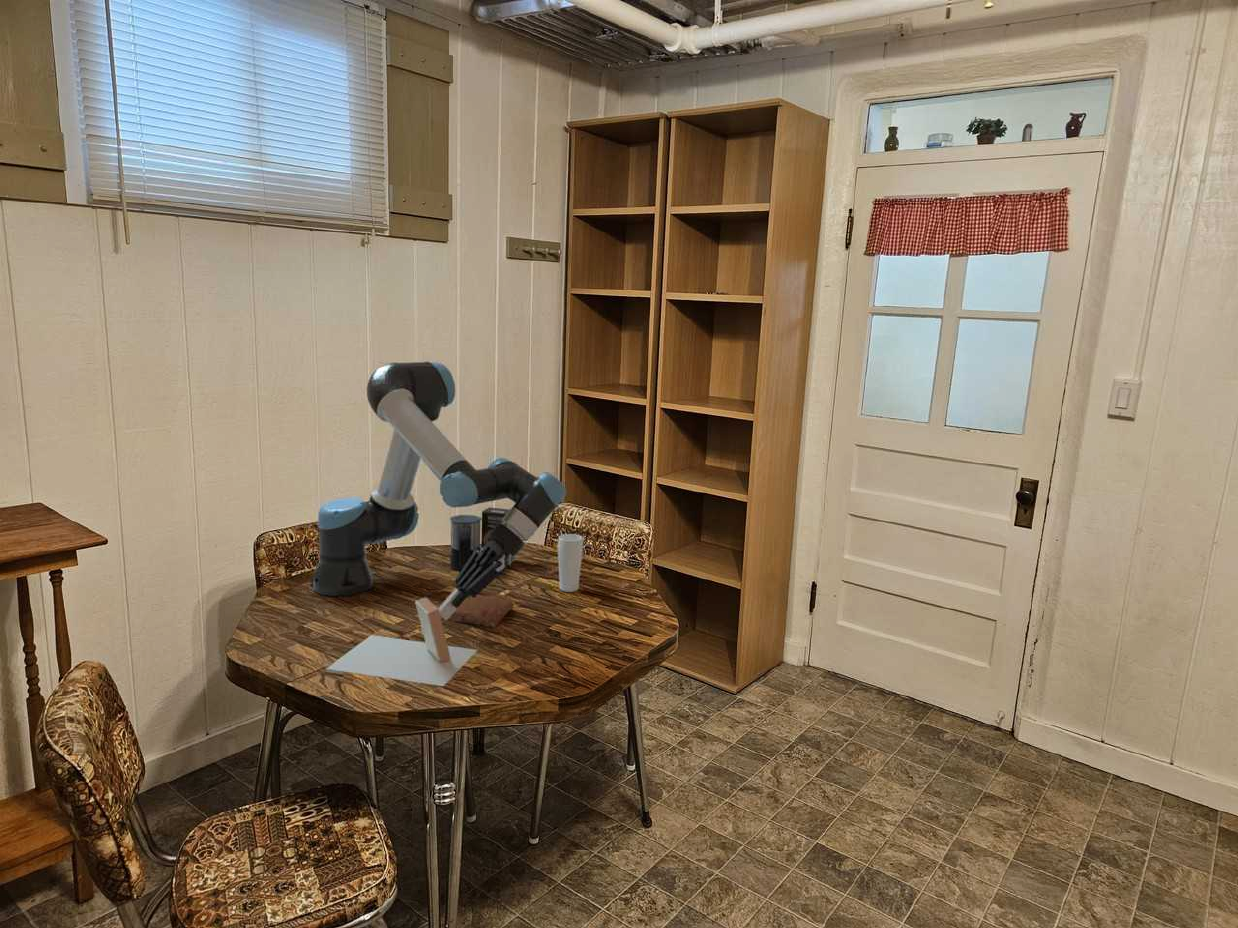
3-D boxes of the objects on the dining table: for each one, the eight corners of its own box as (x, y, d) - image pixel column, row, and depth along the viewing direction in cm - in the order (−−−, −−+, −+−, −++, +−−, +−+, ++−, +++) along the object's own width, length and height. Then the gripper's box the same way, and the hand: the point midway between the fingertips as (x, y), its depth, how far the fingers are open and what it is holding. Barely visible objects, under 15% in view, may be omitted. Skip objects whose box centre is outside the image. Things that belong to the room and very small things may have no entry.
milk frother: (446, 563, 234) (446, 515, 232) (496, 558, 241) (497, 511, 239) (458, 578, 222) (459, 527, 219) (511, 572, 229) (512, 523, 226)
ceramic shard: (462, 584, 203) (516, 598, 201) (457, 607, 204) (511, 622, 201) (439, 595, 189) (497, 611, 186) (433, 621, 189) (491, 637, 187)
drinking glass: (561, 594, 213) (563, 541, 210) (553, 586, 219) (554, 534, 216) (584, 592, 215) (586, 539, 212) (576, 584, 221) (577, 533, 219)
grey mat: (326, 672, 162) (326, 668, 162) (371, 638, 180) (371, 635, 179) (443, 689, 157) (443, 686, 157) (477, 653, 174) (477, 649, 174)
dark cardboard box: (480, 563, 236) (480, 511, 233) (487, 557, 242) (488, 506, 239) (509, 566, 234) (510, 514, 231) (515, 560, 240) (516, 509, 237)
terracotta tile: (437, 644, 175) (425, 597, 171) (450, 658, 168) (438, 609, 164) (427, 649, 173) (414, 601, 170) (439, 663, 167) (427, 613, 163)
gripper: (536, 550, 172) (464, 636, 166) (510, 534, 182) (441, 615, 176) (514, 529, 168) (440, 616, 162) (489, 515, 178) (418, 596, 172)
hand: (441, 615), depth 169 cm, fingers closed
